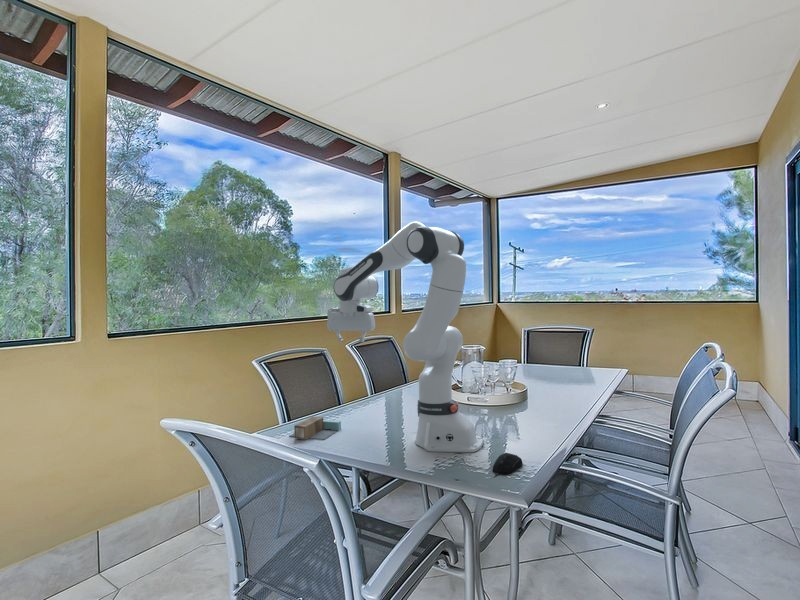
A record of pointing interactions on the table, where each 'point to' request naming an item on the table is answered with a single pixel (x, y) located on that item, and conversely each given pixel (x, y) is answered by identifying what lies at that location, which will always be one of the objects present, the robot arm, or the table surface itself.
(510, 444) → the table surface
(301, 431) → the walnut block
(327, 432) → the rubber mat
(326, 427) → the teal rail
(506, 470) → the gaming mouse
